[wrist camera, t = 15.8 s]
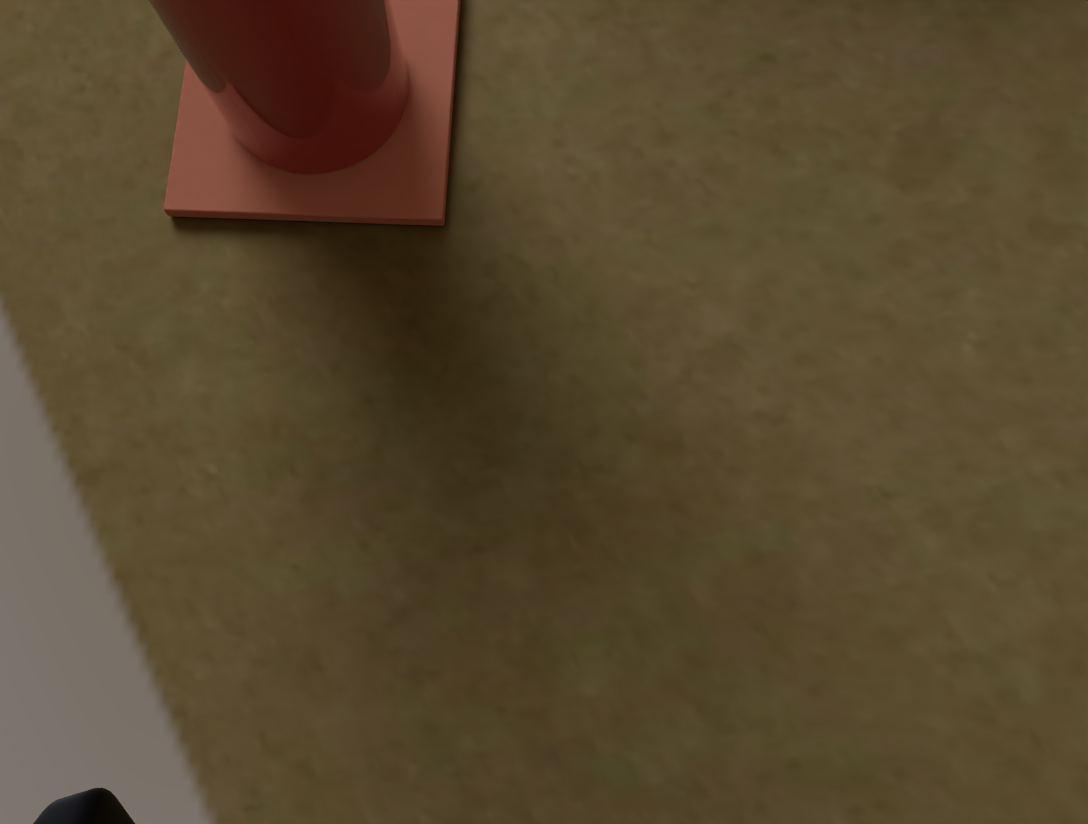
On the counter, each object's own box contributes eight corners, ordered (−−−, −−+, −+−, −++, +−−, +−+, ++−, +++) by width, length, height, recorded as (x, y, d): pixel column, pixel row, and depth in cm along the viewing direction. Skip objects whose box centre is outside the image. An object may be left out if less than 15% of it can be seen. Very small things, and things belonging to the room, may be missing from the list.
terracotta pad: (444, 226, 24) (442, 219, 23) (169, 217, 24) (162, 209, 23) (461, -13, 25) (460, -23, 25) (204, -21, 25) (199, -32, 25)
